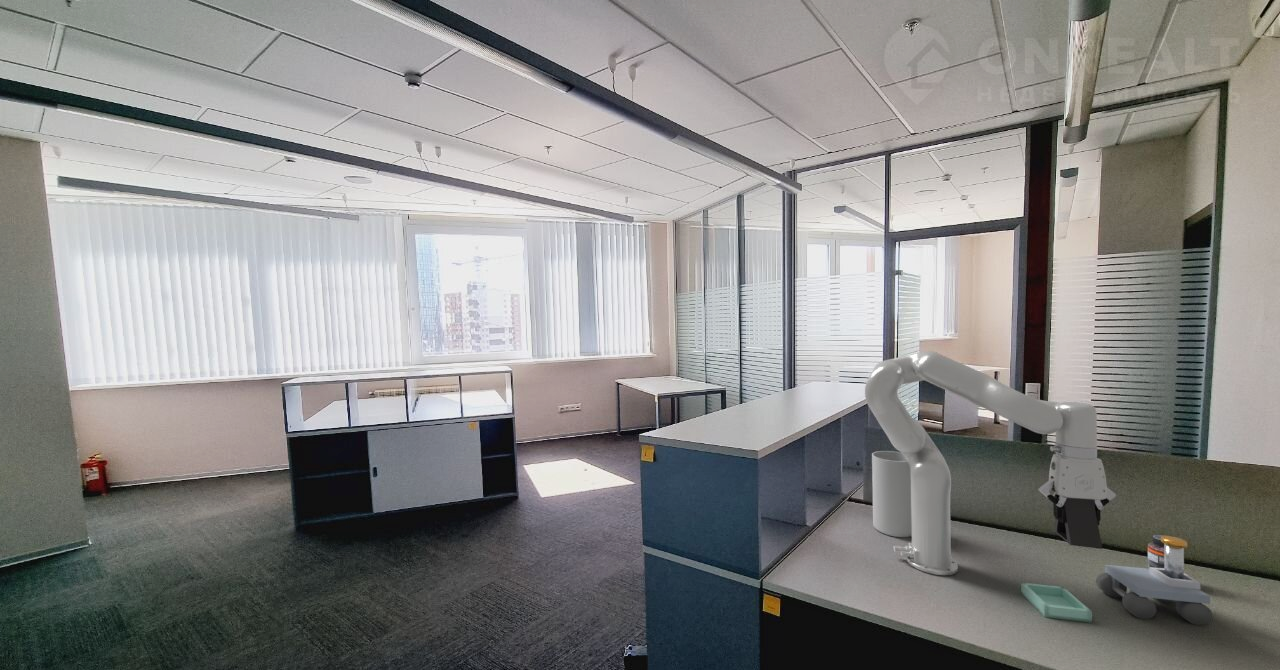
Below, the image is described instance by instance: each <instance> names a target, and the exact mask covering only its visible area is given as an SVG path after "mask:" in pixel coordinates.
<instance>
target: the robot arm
mask: <svg viewBox="0 0 1280 670" xmlns="http://www.w3.org/2000/svg"><path fill="white" fill-rule="evenodd" d="M922 381H925V382H928V383H930V384H932V385H933V386H935V387H938V388H940V389H942V390H945V391H947V392H949V393H951V394H953V395H955V396H957V397H960V398H961V399H963V400H964V401H965V400H966V401H968V402H970V403H972V404H974V405H976V406H978V407H980V408H982V409H985V410H987V411H989V412H991V413H994V414H995V415H998V416H1000V417H1002V418H1004V419H1006V420H1009V421H1010V422H1013V423H1015V424H1016V425H1019V426H1020V427H1023V428H1025V429H1028V430H1029V431H1031V432H1034V433H1036V434H1041V435H1051V434H1054V433H1055V443H1054V445H1051V446H1050V447H1049V450H1050V452H1054V454H1052V457H1051V461H1050V465H1049V472H1048V473H1049V474H1048V481H1046V482H1045V483H1044V484H1042V485H1041V486H1040V487H1039V488H1038V492H1040V493H1041V494H1042V495H1043V496H1045V497H1046V499H1048V500H1049V501H1050V502H1051V503H1052V506H1053V513H1052V514H1053V516H1054V519H1055V518H1056V519H1057V520H1059V521H1060V522H1062V523H1065V510H1066V508H1065V507H1063V504H1064V503H1065V501H1066V499H1067V498H1073V499H1089V500H1095V512H1096V517H1097V522H1098V526H1100V521H1102V520H1101V510H1104V507H1105V506H1106V505H1108V504H1109V503H1110V501H1112V500H1113V499H1114V498H1116V496H1117V494H1116V493H1115V492H1114V491H1113V490H1111V489H1110V488H1109V487H1108V484H1107V478H1106V477H1107V476H1106V472H1105V468H1104V464H1103V461H1102V459H1101V458H1098V431H1097V430H1098V429H1097V427H1098V426H1097V425H1098V424H1097V421H1098V420H1097V419H1098V417H1097V416H1098V415H1097V409H1096V407H1095V406H1094V405H1091V404H1089V403H1086V402H1085V403H1084V402H1073V401H1063V402H1059V401H1058V402H1057V401H1049V400H1045V399H1044V400H1042V399H1036V398H1034V397H1031V396H1029V395H1027V394H1024V393H1022V392H1021V391H1018V390H1015V389H1014V388H1012V387H1010V386H1008V385H1006V384H1004V383H1002V382H1001V381H1000V380H997V379H996V378H994V377H991V376H990V375H988V374H986V373H983V372H982V371H979V370H977V369H975V368H973V367H970V366H969V365H968V366H967V365H965V364H963V363H961V362H958V361H957V360H954V359H952V358H949V357H947V356H946V355H943V354H941V353H938V352H936V351H934V350H933V351H932V350H927V351H920V352H918V353H913V354H908V355H905V356H900V357H896V358H895V357H894V358H890V359H885V360H882V361H881V362H878V363H877V364H876V365H875V366H874V368H873V370H872V372H871V373H870V375H869V376H868V379H867V381H866V383H865V388H864V397H865V400H866V404H867V406H868V408H869V409H870V411H871V413H872V414H873V416H874V418H875V419H876V421H877V422H878V424H879V426H880V427H881V429H882V430H883V432H884V433H885V435H886V437H887V438H888V440H889V441H890V443H891V445H892V446H893V447H894V448H895V450H897V452H900V453H902V455H903V456H904V458H905V459H906V461H907V462H908V464H909V465H910V472H911V528H912V536H911V542H909V541H908V544H907V545H904V546H901V545H895V544H894V545H893V546H892V547H893V551H894V553H895V554H896V553H897V554H898V553H899V554H900V556H901V557H905V560H906V561H907V563H908V564H909V565H910V566H912V568H915V569H917V570H918V571H921V572H925V573H926V574H927V573H928V574H931V575H936V576H951V575H954V574H955V575H956V573H957V572H958V570H959V567H958V564H957V561H955V560H954V559H952V547H951V546H952V545H951V543H952V541H951V538H952V537H951V536H952V533H951V530H952V529H951V493H952V492H951V490H952V475H951V471H950V468H949V465H948V464H947V462H946V459H945V457H944V456H943V454H942V453H941V451H940V450H939V448H938V447H937V446H936V444H935V442H934V441H933V440H932V438H931V437H930V435H929V433H927V431H926V429H925V428H924V426H923V425H922V424H921V423H920V422H919V421H918V420H917V419H915V418H913V417H912V416H911V414H910V413H909V411H908V410H907V408H906V407H905V405H904V404H903V402H902V401H901V399H900V398H899V394H898V391H899V389H900V388H901V387H902V386H903V385H907V384H912V383H917V382H922ZM1050 491H1051V492H1052V493H1053V494H1051V493H1050Z"/></svg>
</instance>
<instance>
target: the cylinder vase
mask: <svg viewBox="0 0 1280 670" xmlns="http://www.w3.org/2000/svg"><path fill="white" fill-rule="evenodd" d="M871 465H872V466H871V470H872V471H871V472H872V474H871V476H872V478H871V479H872V483H871V484H872V525H873V528H874V529H875V530H877V531H878V532H880V533H882V534H884V535H887V536H891V537H895V538H910V537H912V528H911V472H910V465H909V464H908V462H907V461H906V459H905V458H904V456H903V455H902V453H901V452H900V451H892V450H880V451H879V450H878V451H874V452H872V453H871Z"/></svg>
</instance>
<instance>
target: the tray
mask: <svg viewBox="0 0 1280 670" xmlns="http://www.w3.org/2000/svg"><path fill="white" fill-rule="evenodd" d="M1020 586H1021V587H1020V589H1021V590H1020V593H1021V594H1022V595H1023V596H1024V597H1025V599H1027V600H1028V601H1029V603H1031V604H1032V605H1033V606H1034V608H1036V610H1038V612H1040V614H1042V616H1043V617H1044V618H1049V619H1059V620H1066V621H1067V620H1068V621H1075V622H1076V621H1077V622H1085V623H1093V611H1092V610H1091V609H1090V608H1089V607H1087V605H1085V604H1084V603H1083V602H1082V601H1081V600H1079V599H1078V598H1077V597H1075V595H1074V594H1072V593H1071V592H1070V591H1069V590H1067V588H1065V586H1057V585H1045V584H1039V583H1037V584H1036V583H1030V582H1029V583H1028V582H1020Z"/></svg>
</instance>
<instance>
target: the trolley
mask: <svg viewBox="0 0 1280 670" xmlns="http://www.w3.org/2000/svg"><path fill="white" fill-rule="evenodd" d="M1095 584H1096V586H1097V588H1098V589H1099V590H1100V591H1102V592H1103V593H1104V594H1106V595H1107V596H1108V597H1111V598H1121V597H1122V598H1121V604H1122V606H1123V608H1124V609H1125V610H1127V611H1128V612H1129V613H1131V614H1132V615H1133V616H1134V617H1136V618H1137V619H1141V620H1148V619H1151V618H1153V617H1154V616H1155V615H1156V613H1157V607H1156V604H1155V602H1153V601H1152V600H1151V599H1155V600H1157V601H1158V602H1160V603H1165V604H1170V603H1173V602H1174V603H1175V611H1176V613H1177V614H1178V615H1179V616H1180V617H1181V618H1183V619H1185V620H1186V621H1188V622H1189V623H1190V624H1192V625H1195V626H1206V625H1208V624H1209V623H1211V622H1212V620H1213V612H1212V610H1211V608H1209V607H1208V606H1207V604H1208V605H1211V596H1210V595H1209V594H1207V593H1206V592H1204V591H1202V590H1201V582H1200V581H1198V580H1196V579H1195V578H1193V577H1192V576H1190V575H1189V574H1186V573H1185V572H1184V579H1174V578H1170V577H1168V576H1167V575H1165V574H1164V568H1153V567H1149V569H1148V567H1147V568H1144V567H1133V566H1124V565H1113V564H1105V565H1104V572H1102V573H1100V574H1099V575H1098V576H1097V577H1096V580H1095ZM1128 589H1129V592H1127V591H1128ZM1149 598H1150V599H1149ZM1205 604H1206V605H1205Z"/></svg>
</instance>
